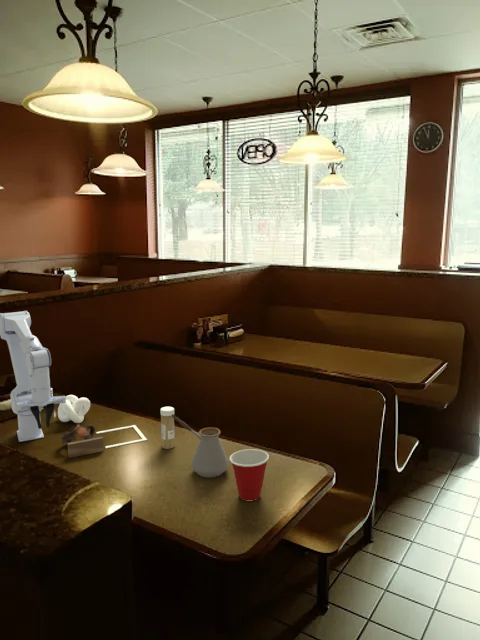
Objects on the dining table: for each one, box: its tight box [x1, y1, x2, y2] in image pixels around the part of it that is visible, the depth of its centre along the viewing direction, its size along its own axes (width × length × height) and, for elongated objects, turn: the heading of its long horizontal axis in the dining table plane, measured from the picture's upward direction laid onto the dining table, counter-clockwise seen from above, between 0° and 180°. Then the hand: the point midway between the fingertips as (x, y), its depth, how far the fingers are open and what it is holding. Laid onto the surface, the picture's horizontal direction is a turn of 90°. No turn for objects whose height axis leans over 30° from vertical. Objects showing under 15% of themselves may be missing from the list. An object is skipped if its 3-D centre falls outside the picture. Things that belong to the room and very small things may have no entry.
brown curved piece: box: [60, 423, 96, 446], centre depth 174 cm, size 12×10×8 cm
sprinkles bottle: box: [160, 406, 176, 450], centre depth 172 cm, size 5×5×13 cm
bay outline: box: [95, 424, 148, 449], centre depth 181 cm, size 14×14×1 cm
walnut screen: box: [67, 436, 105, 459], centre depth 168 cm, size 1×11×4 cm, turn 118°
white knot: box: [57, 394, 91, 424], centre depth 195 cm, size 11×12×9 cm
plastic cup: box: [228, 448, 270, 501], centre depth 142 cm, size 11×11×12 cm
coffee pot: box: [169, 414, 230, 478], centre depth 158 cm, size 21×12×15 cm, turn 55°
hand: (43, 426), depth 168 cm, fingers closed
